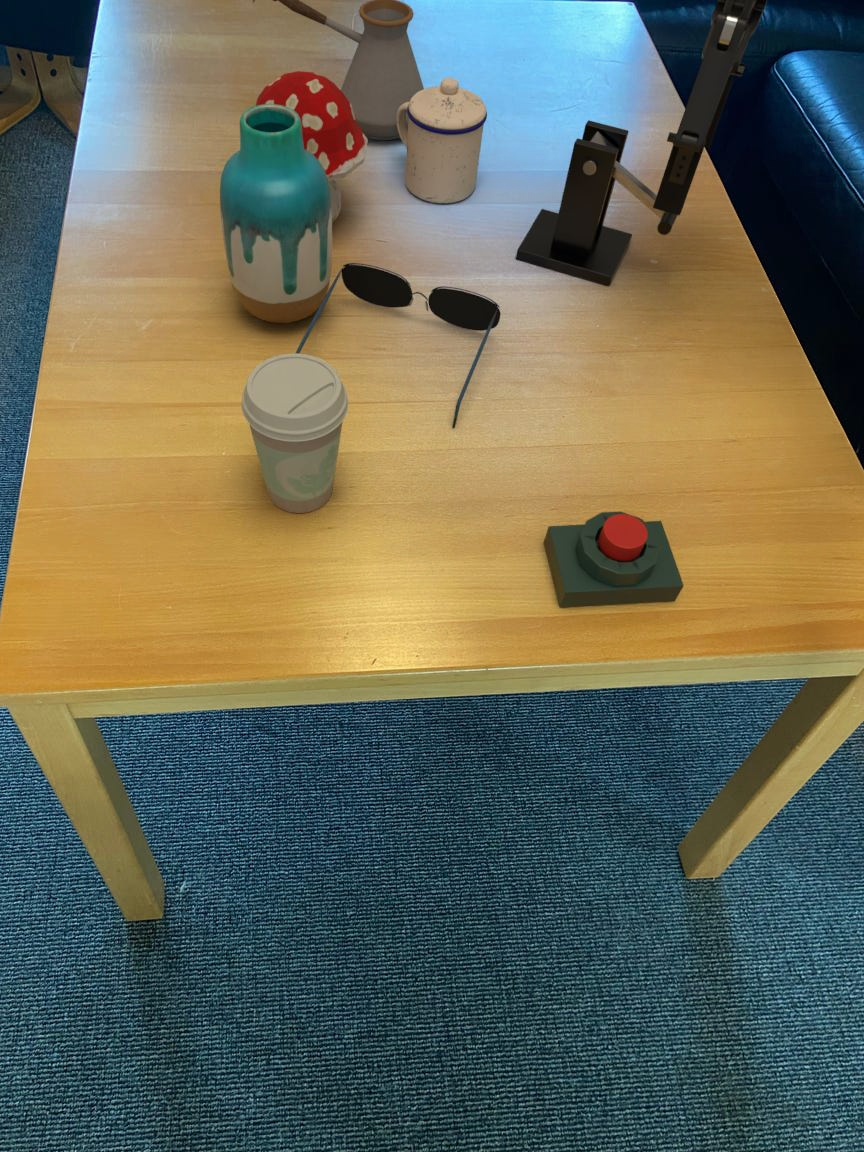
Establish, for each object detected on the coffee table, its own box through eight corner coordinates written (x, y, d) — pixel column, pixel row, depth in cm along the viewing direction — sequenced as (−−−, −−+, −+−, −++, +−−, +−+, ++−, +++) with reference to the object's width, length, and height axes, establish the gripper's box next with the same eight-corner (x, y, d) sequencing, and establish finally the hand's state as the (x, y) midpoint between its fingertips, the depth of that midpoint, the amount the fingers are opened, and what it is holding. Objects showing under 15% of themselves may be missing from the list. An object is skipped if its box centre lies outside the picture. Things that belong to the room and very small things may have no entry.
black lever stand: (629, 243, 100) (664, 129, 89) (609, 286, 95) (643, 172, 84) (539, 218, 102) (563, 103, 91) (515, 259, 97) (537, 143, 86)
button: (635, 526, 72) (641, 512, 70) (646, 560, 70) (653, 547, 68) (593, 528, 71) (598, 514, 70) (603, 562, 70) (609, 549, 68)
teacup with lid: (492, 186, 105) (507, 83, 95) (442, 215, 101) (452, 111, 91) (421, 146, 109) (429, 44, 99) (370, 172, 105) (373, 68, 95)
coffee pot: (425, 104, 115) (435, -30, 102) (426, 150, 108) (438, 14, 96) (265, 96, 114) (255, -40, 101) (257, 142, 108) (246, 4, 95)
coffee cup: (262, 533, 74) (250, 431, 64) (244, 462, 79) (230, 356, 69) (358, 515, 76) (360, 413, 66) (335, 447, 80) (334, 341, 70)
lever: (671, 216, 93) (687, 200, 91) (661, 241, 91) (677, 224, 89) (586, 143, 91) (601, 124, 89) (573, 166, 88) (587, 147, 86)
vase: (226, 338, 88) (200, 147, 72) (238, 274, 93) (217, 84, 77) (329, 343, 88) (327, 155, 72) (335, 279, 94) (334, 91, 77)
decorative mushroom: (254, 258, 95) (241, 116, 82) (240, 187, 102) (226, 47, 90) (377, 248, 97) (382, 108, 84) (355, 179, 104) (357, 41, 92)
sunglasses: (498, 336, 90) (504, 298, 85) (454, 442, 84) (458, 408, 79) (344, 294, 92) (342, 256, 88) (292, 395, 86) (286, 359, 82)
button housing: (653, 536, 76) (668, 506, 73) (675, 601, 72) (691, 572, 69) (543, 542, 75) (552, 512, 72) (559, 607, 71) (570, 579, 68)
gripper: (753, -142, 76) (674, 109, 94) (692, -37, 64) (614, 229, 82) (838, -125, 75) (742, 127, 93) (793, -14, 62) (691, 251, 80)
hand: (682, 175), depth 87 cm, fingers open, 13 cm apart
